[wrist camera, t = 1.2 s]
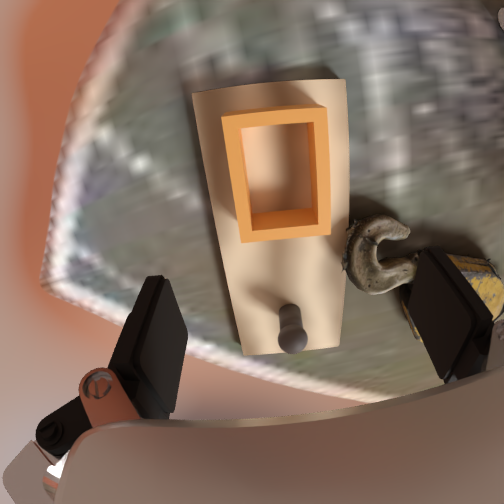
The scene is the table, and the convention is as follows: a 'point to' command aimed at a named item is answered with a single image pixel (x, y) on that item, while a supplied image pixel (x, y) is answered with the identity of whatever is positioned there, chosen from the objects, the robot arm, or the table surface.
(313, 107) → the link
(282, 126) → the keeper board
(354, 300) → the table surface
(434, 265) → the robot arm
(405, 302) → the pulley block
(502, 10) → the photo printer
